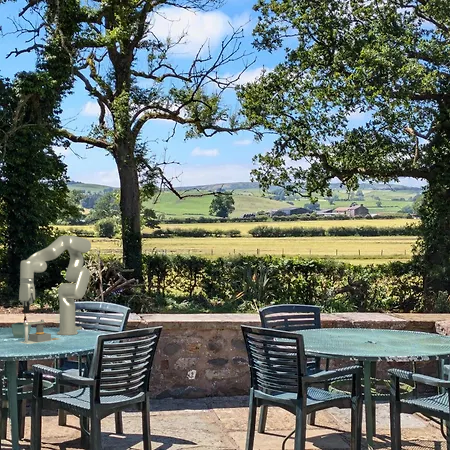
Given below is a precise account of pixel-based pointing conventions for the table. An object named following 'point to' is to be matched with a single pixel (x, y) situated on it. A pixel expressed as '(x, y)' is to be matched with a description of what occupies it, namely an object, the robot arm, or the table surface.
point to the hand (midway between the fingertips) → (26, 312)
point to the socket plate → (36, 337)
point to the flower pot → (19, 330)
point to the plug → (39, 329)
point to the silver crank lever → (33, 323)
